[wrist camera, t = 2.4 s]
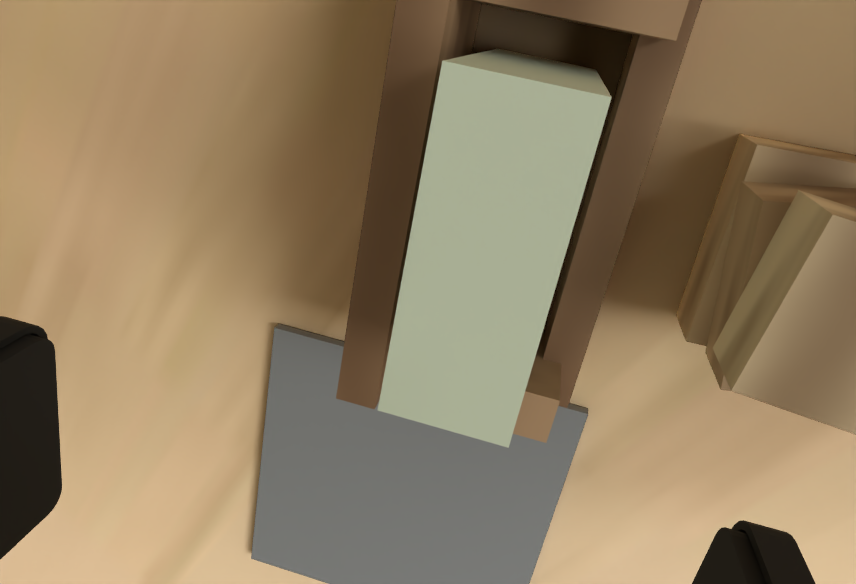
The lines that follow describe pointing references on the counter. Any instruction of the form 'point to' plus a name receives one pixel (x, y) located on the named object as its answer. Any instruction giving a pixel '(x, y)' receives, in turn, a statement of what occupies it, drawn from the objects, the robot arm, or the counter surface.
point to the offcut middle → (756, 245)
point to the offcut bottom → (747, 164)
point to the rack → (602, 207)
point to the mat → (395, 485)
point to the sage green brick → (489, 237)
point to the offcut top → (799, 317)
